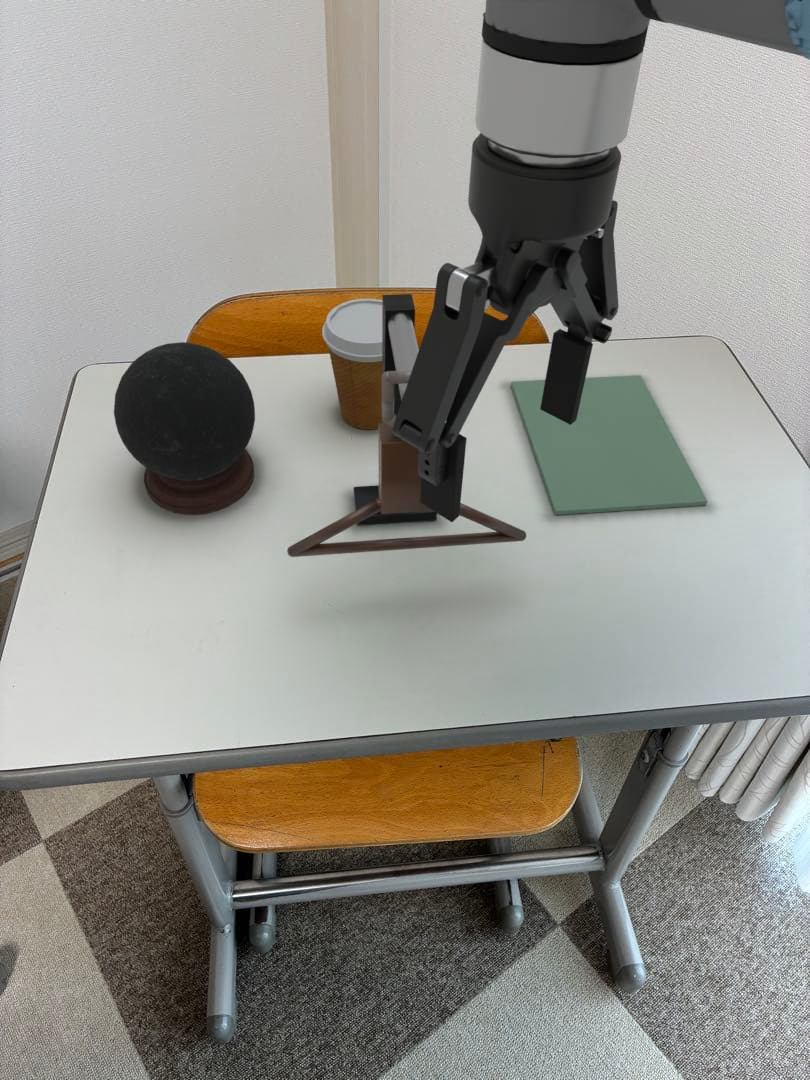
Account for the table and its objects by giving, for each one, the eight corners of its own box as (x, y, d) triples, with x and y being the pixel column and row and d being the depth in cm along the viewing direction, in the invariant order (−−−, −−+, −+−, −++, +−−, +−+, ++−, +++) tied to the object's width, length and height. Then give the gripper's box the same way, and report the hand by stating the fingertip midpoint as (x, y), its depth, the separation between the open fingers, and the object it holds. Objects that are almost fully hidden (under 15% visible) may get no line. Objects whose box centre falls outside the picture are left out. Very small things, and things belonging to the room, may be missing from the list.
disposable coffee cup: (375, 378, 96) (375, 287, 87) (427, 417, 91) (432, 324, 82) (310, 408, 92) (303, 315, 83) (361, 450, 87) (358, 357, 78)
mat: (510, 385, 96) (511, 381, 95) (639, 379, 97) (640, 374, 97) (554, 515, 81) (555, 511, 80) (706, 505, 82) (707, 501, 82)
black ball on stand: (131, 448, 86) (94, 326, 75) (252, 427, 89) (234, 307, 78) (140, 533, 78) (101, 409, 67) (274, 507, 80) (257, 384, 70)
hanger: (522, 529, 72) (555, 354, 58) (528, 548, 70) (563, 373, 56) (287, 545, 70) (265, 368, 56) (287, 565, 68) (264, 388, 55)
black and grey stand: (430, 490, 83) (443, 285, 66) (455, 617, 71) (479, 411, 54) (353, 494, 82) (347, 289, 65) (367, 624, 71) (363, 417, 54)
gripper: (615, 64, 48) (559, 362, 64) (315, 191, 35) (336, 526, 51) (730, 95, 45) (641, 402, 60) (445, 248, 32) (426, 588, 47)
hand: (502, 459), depth 55 cm, fingers open, 13 cm apart
